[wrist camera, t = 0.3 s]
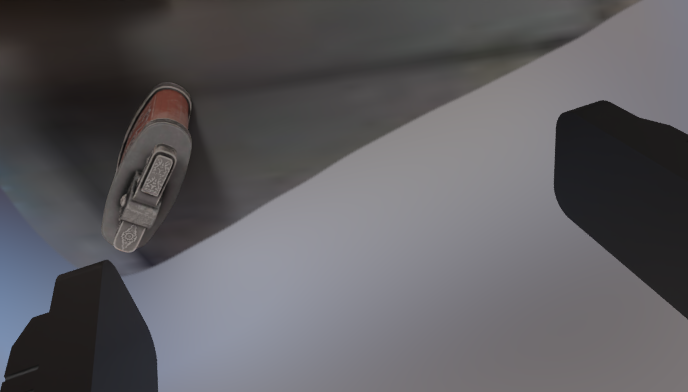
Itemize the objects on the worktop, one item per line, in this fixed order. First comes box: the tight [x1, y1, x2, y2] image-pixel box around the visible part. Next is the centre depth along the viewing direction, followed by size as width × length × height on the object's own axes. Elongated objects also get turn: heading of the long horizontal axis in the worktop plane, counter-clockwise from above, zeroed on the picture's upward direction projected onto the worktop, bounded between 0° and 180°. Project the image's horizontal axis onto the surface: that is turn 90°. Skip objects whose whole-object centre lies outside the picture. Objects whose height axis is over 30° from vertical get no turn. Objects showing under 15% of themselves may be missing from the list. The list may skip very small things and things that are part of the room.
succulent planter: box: [101, 83, 192, 252], centre depth 33 cm, size 8×3×10 cm, turn 150°
